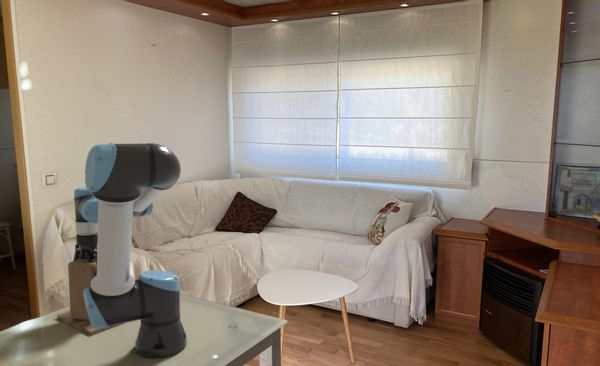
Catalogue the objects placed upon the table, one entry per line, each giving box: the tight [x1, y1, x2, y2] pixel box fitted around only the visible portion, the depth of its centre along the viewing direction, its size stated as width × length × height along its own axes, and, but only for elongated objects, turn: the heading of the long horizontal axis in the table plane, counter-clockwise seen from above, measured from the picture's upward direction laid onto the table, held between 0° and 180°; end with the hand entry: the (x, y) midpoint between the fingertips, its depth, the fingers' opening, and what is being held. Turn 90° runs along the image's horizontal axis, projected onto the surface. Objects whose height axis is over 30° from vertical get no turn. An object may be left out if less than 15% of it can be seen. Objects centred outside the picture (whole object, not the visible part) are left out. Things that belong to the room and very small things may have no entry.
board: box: [56, 310, 121, 336], centre depth 160 cm, size 22×14×1 cm, turn 54°
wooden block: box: [67, 258, 97, 321], centre depth 159 cm, size 10×10×20 cm
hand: (91, 293), depth 160 cm, fingers closed on wooden block, 12 cm apart
